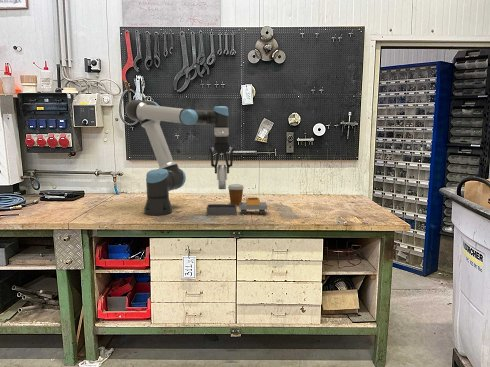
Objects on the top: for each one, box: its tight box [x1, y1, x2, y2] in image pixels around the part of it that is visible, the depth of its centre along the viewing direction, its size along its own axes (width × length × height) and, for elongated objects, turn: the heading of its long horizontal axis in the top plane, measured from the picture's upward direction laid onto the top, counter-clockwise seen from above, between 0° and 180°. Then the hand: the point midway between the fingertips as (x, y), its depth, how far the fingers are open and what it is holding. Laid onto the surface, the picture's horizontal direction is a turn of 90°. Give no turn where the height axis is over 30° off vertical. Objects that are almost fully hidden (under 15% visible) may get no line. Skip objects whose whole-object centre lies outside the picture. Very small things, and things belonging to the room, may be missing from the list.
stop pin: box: [217, 164, 227, 190], centre depth 203 cm, size 4×4×13 cm
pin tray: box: [206, 203, 238, 216], centre depth 206 cm, size 16×9×4 cm, turn 92°
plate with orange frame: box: [238, 197, 268, 216], centre depth 206 cm, size 15×9×8 cm, turn 92°
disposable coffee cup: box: [227, 183, 245, 207], centre depth 226 cm, size 10×10×12 cm
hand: (222, 179), depth 203 cm, fingers closed on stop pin, 4 cm apart
